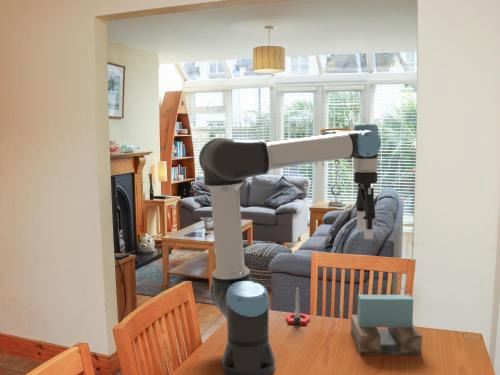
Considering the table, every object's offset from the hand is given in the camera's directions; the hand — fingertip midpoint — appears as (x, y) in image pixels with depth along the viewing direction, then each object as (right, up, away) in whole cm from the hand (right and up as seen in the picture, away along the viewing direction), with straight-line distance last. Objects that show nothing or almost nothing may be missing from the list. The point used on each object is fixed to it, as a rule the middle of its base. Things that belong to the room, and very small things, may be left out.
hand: (364, 234), depth 161 cm
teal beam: (+4, -27, -11) cm, 30 cm away
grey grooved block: (+4, -33, -10) cm, 35 cm away
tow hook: (-22, -32, +9) cm, 39 cm away
